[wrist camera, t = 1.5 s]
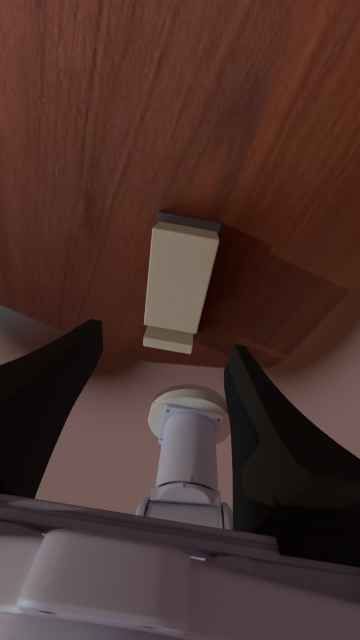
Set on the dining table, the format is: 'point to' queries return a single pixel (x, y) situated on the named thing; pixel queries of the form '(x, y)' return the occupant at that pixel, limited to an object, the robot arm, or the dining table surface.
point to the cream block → (178, 279)
